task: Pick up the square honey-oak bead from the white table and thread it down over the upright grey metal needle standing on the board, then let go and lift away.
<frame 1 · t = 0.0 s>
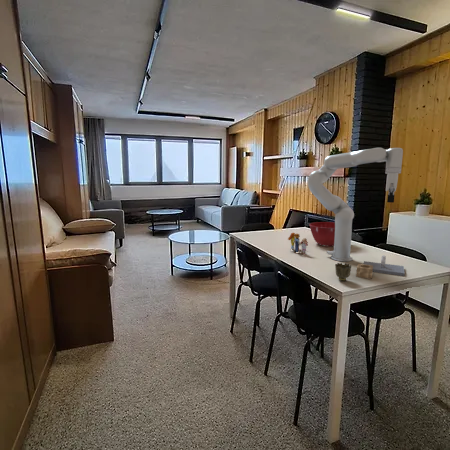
hand: (390, 201, 163), 37 cm above the table, tool pointing down, fingers open, 9 cm apart
doll family: (295, 252, 199), on the table
needle board: (382, 269, 160), on the table
cup: (342, 280, 144), on the table
mixing bowl: (327, 244, 220), on the table
oak bead: (364, 275, 151), on the table
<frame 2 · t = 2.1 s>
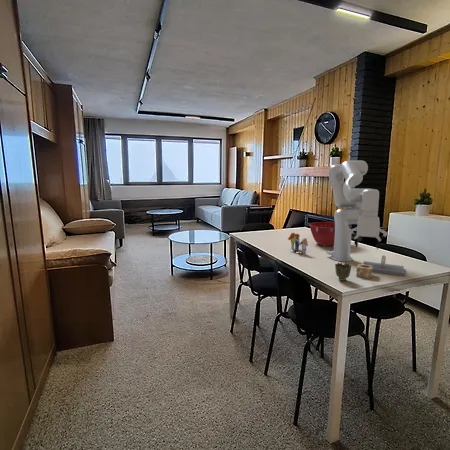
hand: (366, 247, 148), 15 cm above the table, tool pointing down, fingers open, 9 cm apart
nothing on the table moved.
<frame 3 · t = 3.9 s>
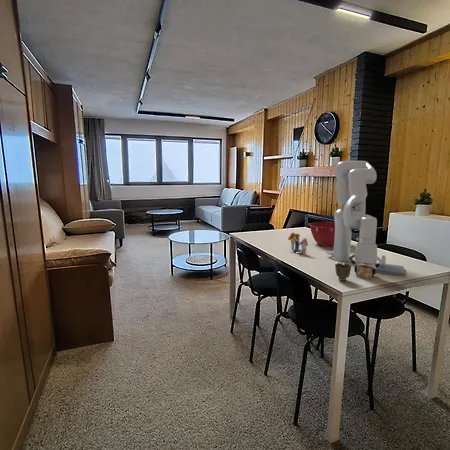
hand: (364, 274, 150), 1 cm above the table, tool pointing down, fingers closed on oak bead, 7 cm apart
oak bead: (364, 275, 150), on the table, touching gripper
everything else where it was.
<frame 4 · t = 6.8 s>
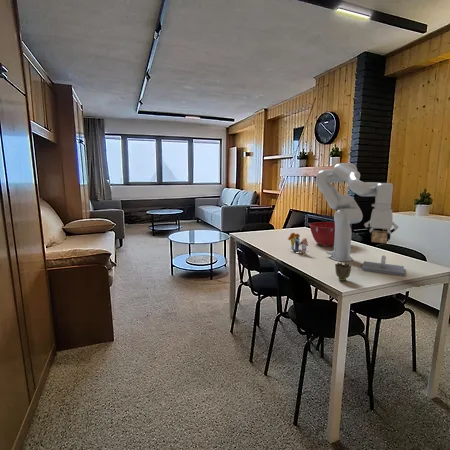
hand: (379, 239, 155), 17 cm above the table, tool pointing down, fingers closed on oak bead, 7 cm apart
oak bead: (379, 241, 155), point 17 cm above the table, touching gripper
everything else where it was.
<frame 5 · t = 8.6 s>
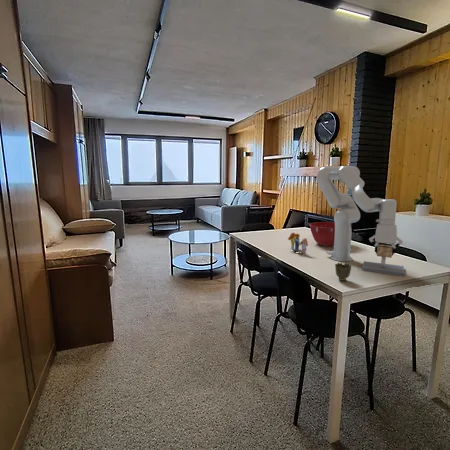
hand: (384, 254, 159), 9 cm above the table, tool pointing down, fingers closed on oak bead, 7 cm apart
oak bead: (384, 255, 159), point 8 cm above the table, touching gripper
everything else where it was.
when the fingers open (4 cm above the table, at t = 10.0 s): oak bead drops 2 cm, resting on needle board.
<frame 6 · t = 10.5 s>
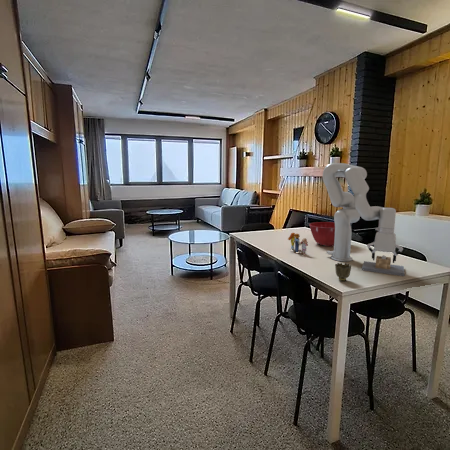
hand: (383, 261, 160), 5 cm above the table, tool pointing down, fingers open, 9 cm apart
oak bead: (382, 266, 160), point 1 cm above the table, touching needle board
everything else where it was.
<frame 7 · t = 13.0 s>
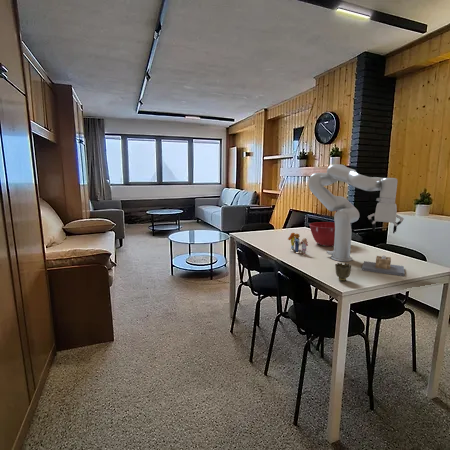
hand: (383, 231, 159), 21 cm above the table, tool pointing down, fingers open, 9 cm apart
nothing on the table moved.
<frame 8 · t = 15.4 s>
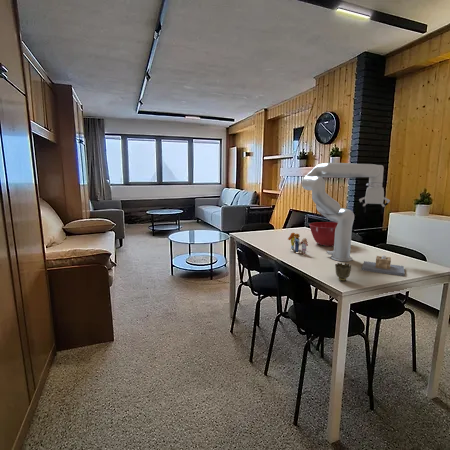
hand: (373, 212, 182), 28 cm above the table, tool pointing down, fingers open, 9 cm apart
nothing on the table moved.
at the end: oak bead 0.1 cm off-centre on the needle board, point 1.5 cm above the needle board's base; oak bead tilted 0°; the gripper is holding nothing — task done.
